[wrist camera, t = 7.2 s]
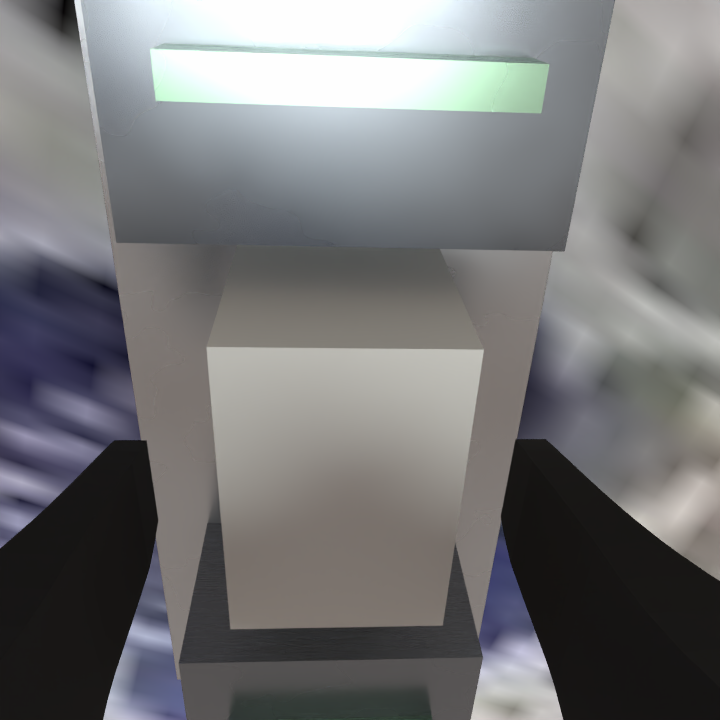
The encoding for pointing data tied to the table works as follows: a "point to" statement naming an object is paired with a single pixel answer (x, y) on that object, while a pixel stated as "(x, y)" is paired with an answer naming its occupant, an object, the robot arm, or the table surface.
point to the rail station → (331, 229)
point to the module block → (340, 434)
